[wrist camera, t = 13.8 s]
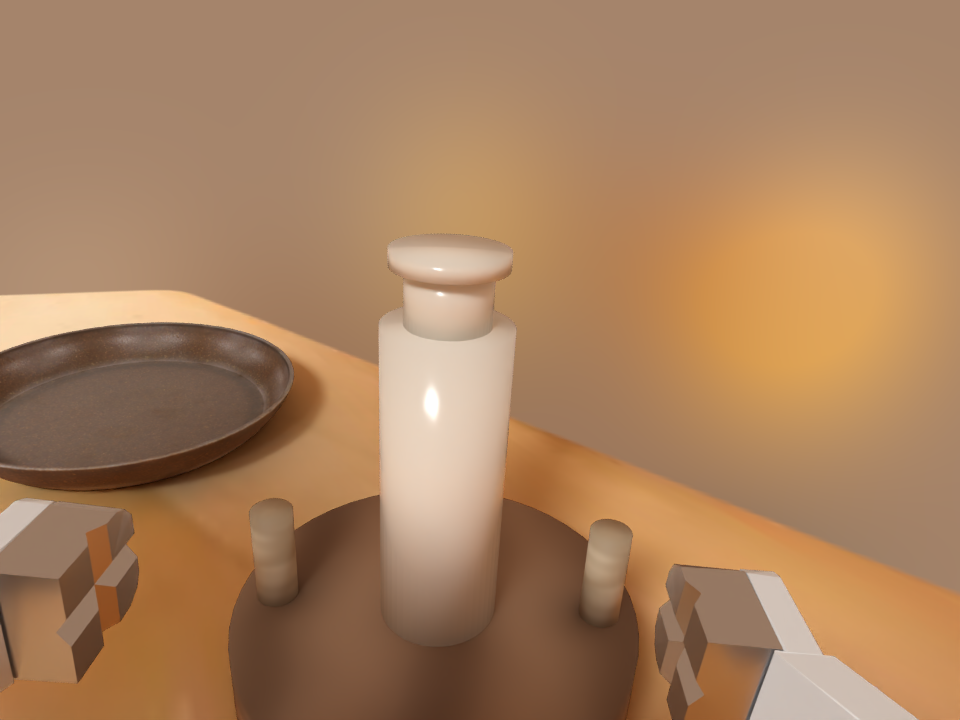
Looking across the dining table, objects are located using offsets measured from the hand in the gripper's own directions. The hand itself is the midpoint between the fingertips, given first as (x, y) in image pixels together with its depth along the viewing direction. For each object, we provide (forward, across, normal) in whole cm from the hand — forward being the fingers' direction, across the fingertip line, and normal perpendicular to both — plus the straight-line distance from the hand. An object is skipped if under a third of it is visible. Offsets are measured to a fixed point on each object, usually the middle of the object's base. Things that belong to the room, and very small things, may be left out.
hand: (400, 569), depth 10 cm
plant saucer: (+31, +21, +17) cm, 41 cm away
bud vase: (+13, 0, +13) cm, 19 cm away
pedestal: (+13, -1, +16) cm, 20 cm away
